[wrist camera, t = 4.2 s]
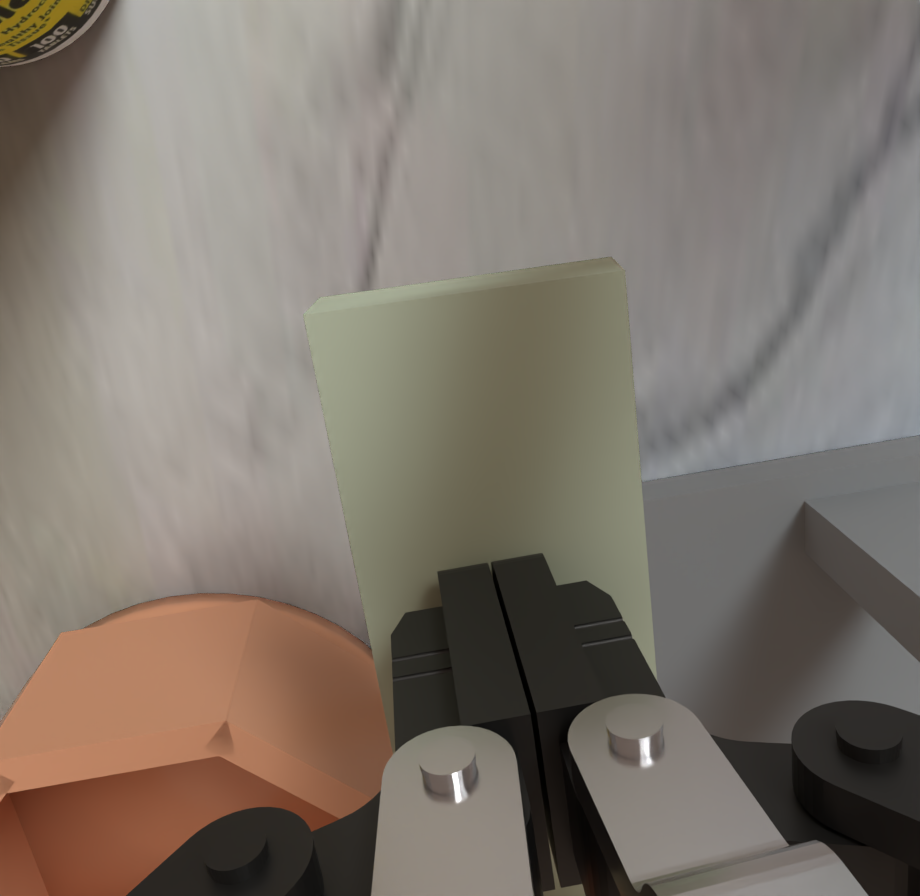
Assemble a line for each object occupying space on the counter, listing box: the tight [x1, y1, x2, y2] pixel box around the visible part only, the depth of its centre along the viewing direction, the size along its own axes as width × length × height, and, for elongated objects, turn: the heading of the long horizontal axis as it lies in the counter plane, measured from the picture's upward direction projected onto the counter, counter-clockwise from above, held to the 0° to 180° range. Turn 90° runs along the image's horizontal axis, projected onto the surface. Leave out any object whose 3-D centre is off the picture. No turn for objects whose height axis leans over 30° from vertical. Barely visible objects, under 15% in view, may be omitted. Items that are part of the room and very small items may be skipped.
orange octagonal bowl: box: [0, 593, 393, 896], centre depth 22 cm, size 12×12×6 cm
